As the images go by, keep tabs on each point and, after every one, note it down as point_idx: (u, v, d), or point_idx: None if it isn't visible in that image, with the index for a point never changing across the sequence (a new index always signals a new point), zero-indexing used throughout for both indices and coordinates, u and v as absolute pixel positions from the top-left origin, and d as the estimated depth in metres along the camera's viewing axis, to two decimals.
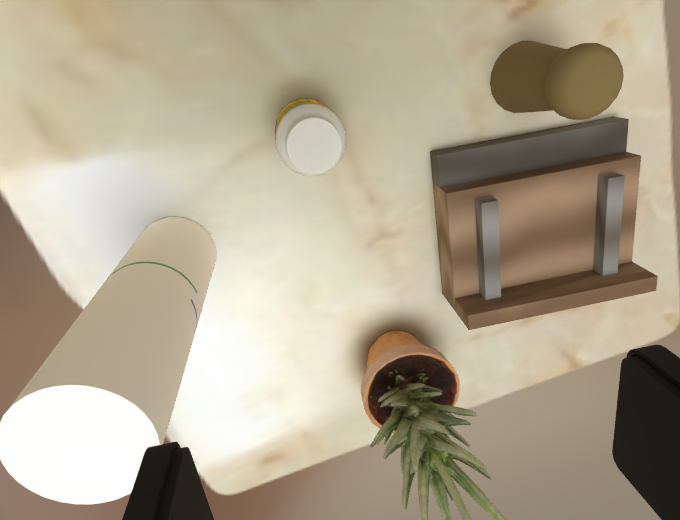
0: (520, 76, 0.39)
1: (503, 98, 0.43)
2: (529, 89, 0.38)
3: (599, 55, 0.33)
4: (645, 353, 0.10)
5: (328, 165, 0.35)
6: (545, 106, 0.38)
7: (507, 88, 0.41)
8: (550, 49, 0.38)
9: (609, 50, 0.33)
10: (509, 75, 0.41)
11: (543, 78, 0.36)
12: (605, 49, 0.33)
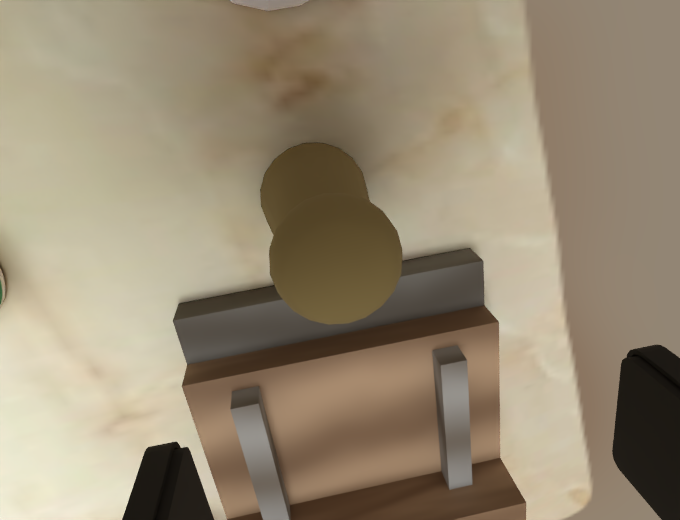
0: (271, 216, 0.23)
1: None
2: None
3: (339, 229, 0.17)
4: (645, 353, 0.10)
5: None
6: None
7: (269, 225, 0.25)
8: (311, 178, 0.22)
9: (364, 216, 0.17)
10: (267, 207, 0.24)
11: None
12: (354, 215, 0.17)
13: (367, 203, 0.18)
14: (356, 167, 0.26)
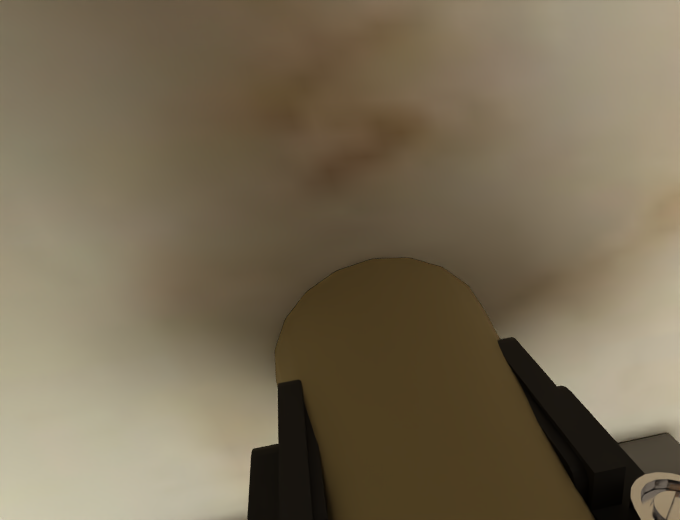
0: None
1: None
2: None
3: None
4: None
5: None
6: None
7: None
8: (422, 423, 0.08)
9: None
10: None
11: None
12: None
13: None
14: (484, 314, 0.12)
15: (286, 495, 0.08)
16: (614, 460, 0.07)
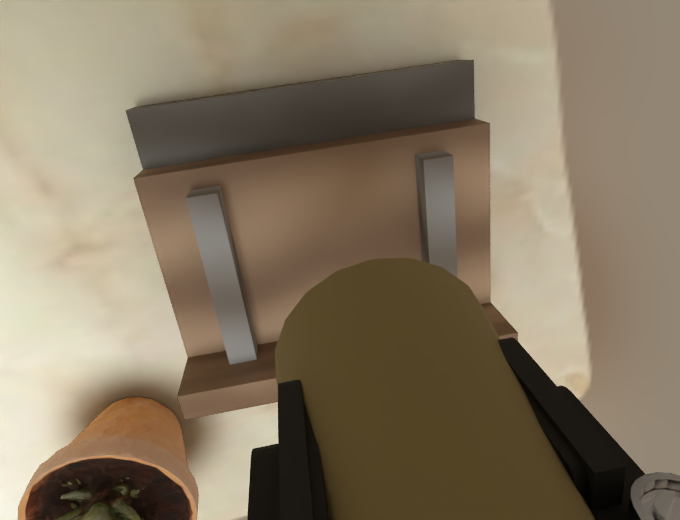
0: None
1: None
2: None
3: None
4: None
5: None
6: None
7: None
8: (423, 423, 0.08)
9: None
10: None
11: None
12: None
13: None
14: (484, 314, 0.12)
15: (286, 495, 0.08)
16: (614, 460, 0.07)
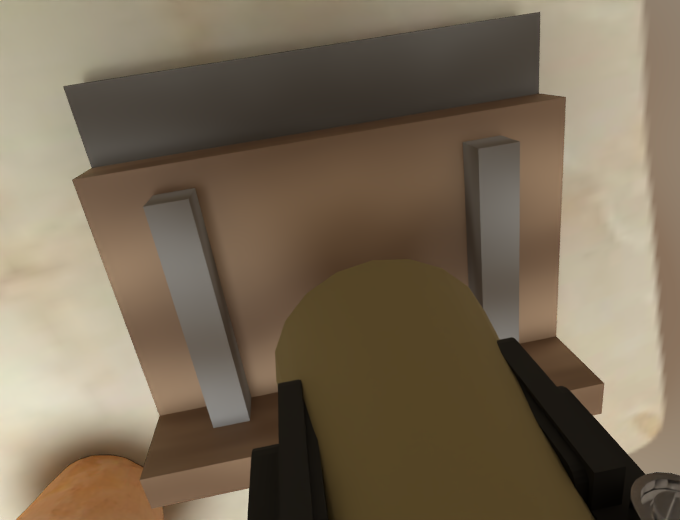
0: None
1: None
2: None
3: None
4: None
5: None
6: None
7: None
8: (423, 426, 0.08)
9: None
10: None
11: None
12: None
13: None
14: (484, 315, 0.12)
15: (286, 495, 0.08)
16: (614, 460, 0.07)
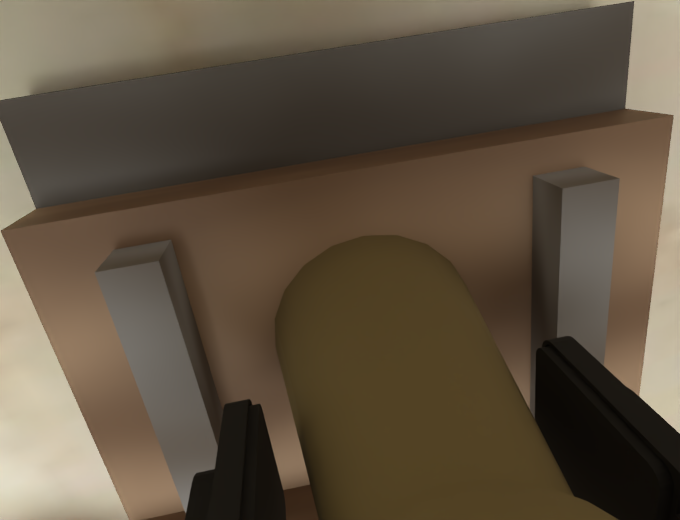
0: (301, 426, 0.10)
1: None
2: None
3: None
4: (554, 343, 0.10)
5: None
6: None
7: None
8: (402, 364, 0.09)
9: None
10: (290, 382, 0.12)
11: None
12: None
13: None
14: (464, 286, 0.13)
15: None
16: None
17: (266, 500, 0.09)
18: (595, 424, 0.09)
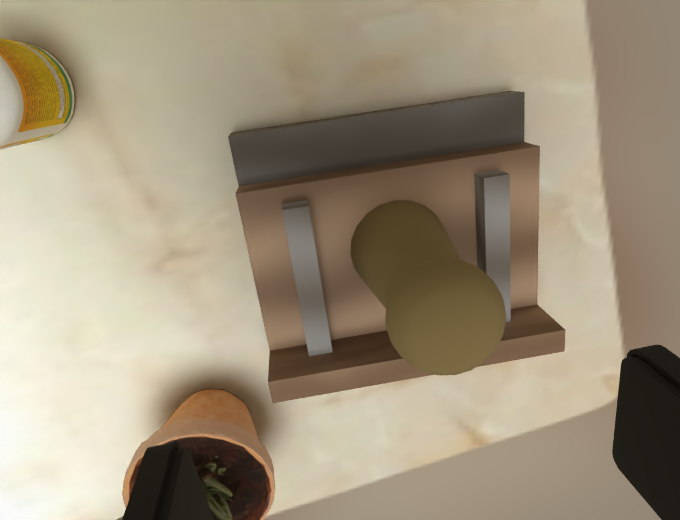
0: (371, 270, 0.26)
1: (364, 281, 0.29)
2: (380, 296, 0.25)
3: (458, 294, 0.19)
4: (645, 353, 0.10)
5: None
6: None
7: (363, 275, 0.27)
8: (412, 238, 0.24)
9: (478, 282, 0.20)
10: (363, 259, 0.27)
11: None
12: (470, 282, 0.20)
13: (478, 269, 0.20)
14: (441, 223, 0.29)
15: None
16: None
17: None
18: None
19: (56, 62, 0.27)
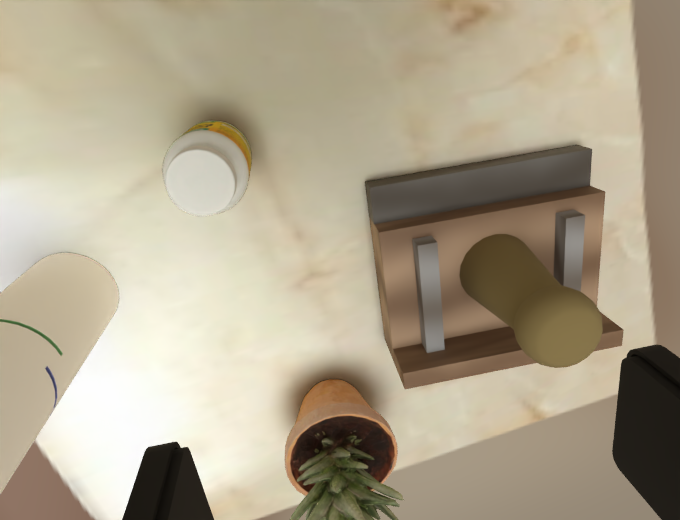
0: (489, 290, 0.35)
1: (473, 296, 0.38)
2: (499, 310, 0.34)
3: (574, 313, 0.29)
4: (645, 353, 0.10)
5: (220, 206, 0.29)
6: None
7: (476, 292, 0.37)
8: (523, 268, 0.33)
9: (587, 304, 0.29)
10: (478, 281, 0.36)
11: (513, 310, 0.32)
12: (582, 304, 0.29)
13: (584, 295, 0.30)
14: None
15: None
16: None
17: None
18: None
19: (243, 135, 0.36)
